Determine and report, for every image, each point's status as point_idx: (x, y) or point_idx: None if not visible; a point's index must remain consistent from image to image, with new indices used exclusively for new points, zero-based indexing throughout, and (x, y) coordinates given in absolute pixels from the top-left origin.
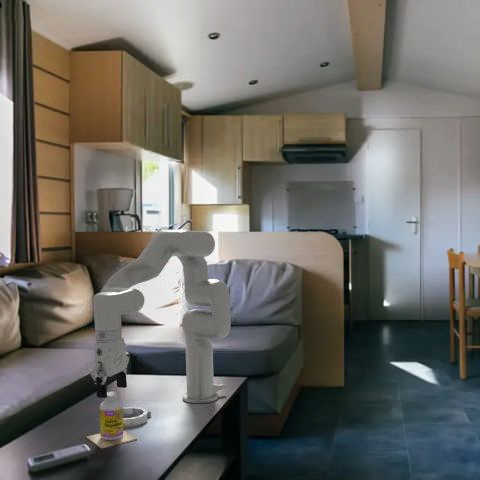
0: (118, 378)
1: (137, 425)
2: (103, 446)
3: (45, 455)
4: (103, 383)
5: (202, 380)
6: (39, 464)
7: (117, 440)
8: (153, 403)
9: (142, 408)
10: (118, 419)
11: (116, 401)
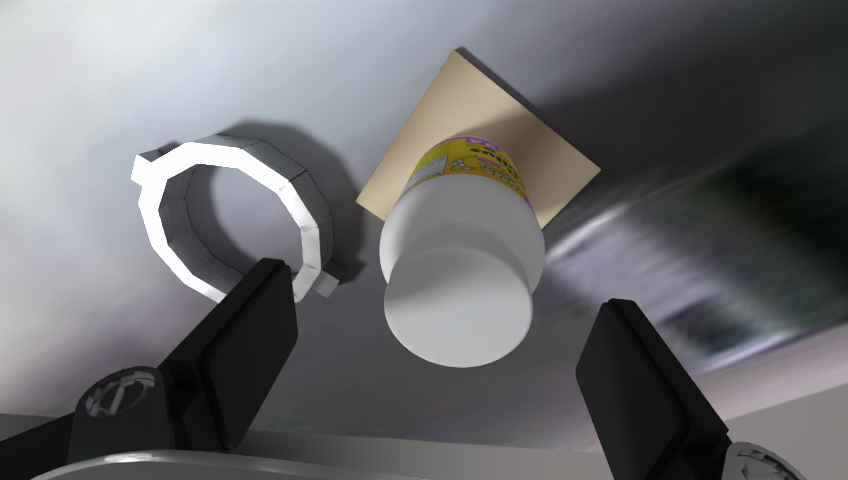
0: (253, 392)
1: (280, 152)
2: (590, 164)
3: (683, 334)
4: (759, 467)
5: None
6: (786, 314)
7: (501, 139)
8: (31, 218)
9: (143, 201)
10: (494, 163)
11: (475, 229)
